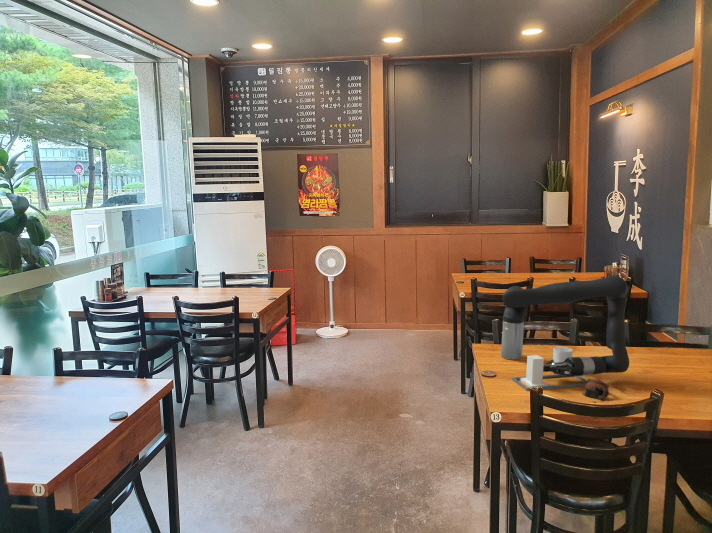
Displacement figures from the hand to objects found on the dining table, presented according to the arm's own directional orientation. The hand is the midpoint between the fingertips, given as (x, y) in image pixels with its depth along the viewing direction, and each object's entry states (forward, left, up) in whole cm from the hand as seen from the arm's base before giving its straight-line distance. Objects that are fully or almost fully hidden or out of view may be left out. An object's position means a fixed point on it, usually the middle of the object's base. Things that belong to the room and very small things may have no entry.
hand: (540, 368), depth 210 cm
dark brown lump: (+15, +15, -8) cm, 23 cm away
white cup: (-15, +19, -8) cm, 26 cm away
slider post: (0, -2, -6) cm, 6 cm away
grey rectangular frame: (0, +5, -7) cm, 9 cm away
